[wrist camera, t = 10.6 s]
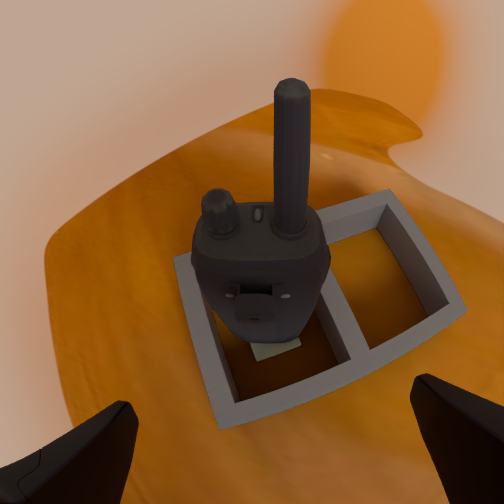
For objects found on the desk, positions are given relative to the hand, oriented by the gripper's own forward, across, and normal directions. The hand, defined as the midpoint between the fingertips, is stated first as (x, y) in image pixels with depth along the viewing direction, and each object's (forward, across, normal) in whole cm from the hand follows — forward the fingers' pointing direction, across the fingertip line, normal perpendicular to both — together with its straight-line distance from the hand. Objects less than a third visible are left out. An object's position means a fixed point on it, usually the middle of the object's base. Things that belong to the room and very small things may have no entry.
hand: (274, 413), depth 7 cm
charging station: (+11, -4, +2) cm, 12 cm away
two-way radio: (+10, 0, +3) cm, 10 cm away
